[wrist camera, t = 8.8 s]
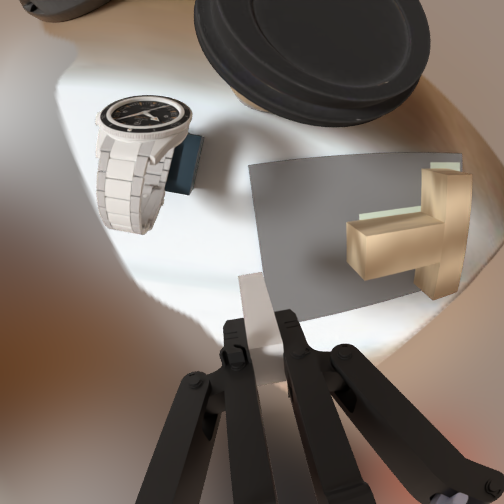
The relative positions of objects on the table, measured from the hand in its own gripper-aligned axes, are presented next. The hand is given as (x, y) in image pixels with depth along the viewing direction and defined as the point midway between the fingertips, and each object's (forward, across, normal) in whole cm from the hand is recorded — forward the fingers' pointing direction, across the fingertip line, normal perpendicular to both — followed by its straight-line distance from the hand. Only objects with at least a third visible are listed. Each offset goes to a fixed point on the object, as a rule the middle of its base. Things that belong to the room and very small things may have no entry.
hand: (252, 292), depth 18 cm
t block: (+7, +16, -1) cm, 18 cm away
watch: (+8, -5, +9) cm, 13 cm away
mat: (+7, +13, -1) cm, 15 cm away
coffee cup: (+8, +4, +14) cm, 17 cm away
